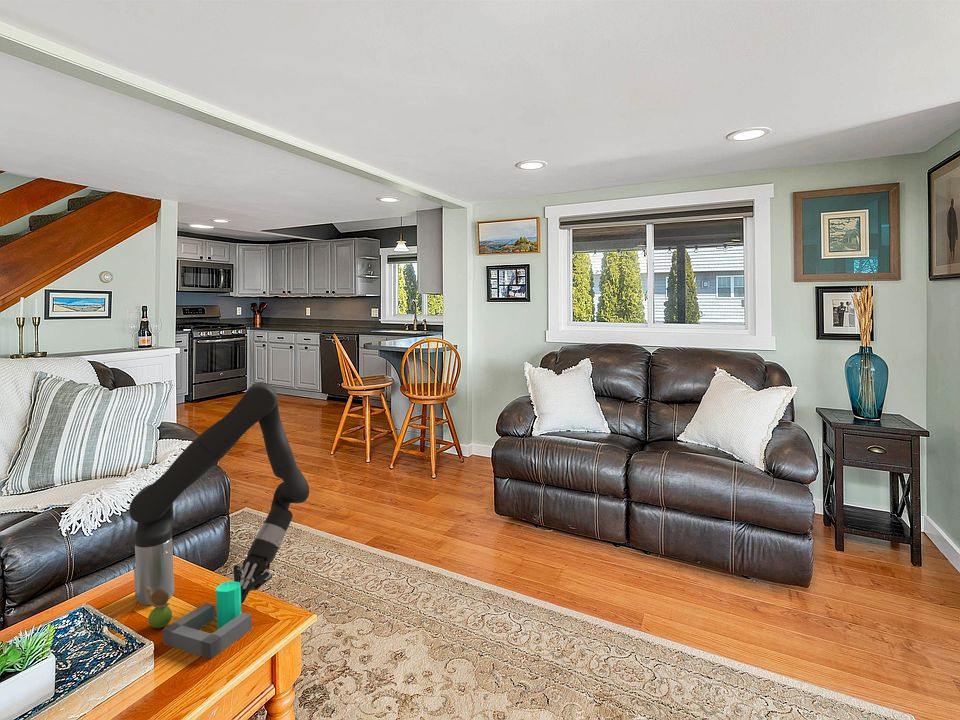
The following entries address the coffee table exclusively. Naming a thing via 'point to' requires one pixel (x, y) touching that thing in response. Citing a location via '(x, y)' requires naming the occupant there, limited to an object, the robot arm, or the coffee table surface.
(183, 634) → the grey u-shaped frame
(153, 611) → the snail figurine
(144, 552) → the robot arm
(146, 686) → the coffee table surface
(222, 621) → the candle
